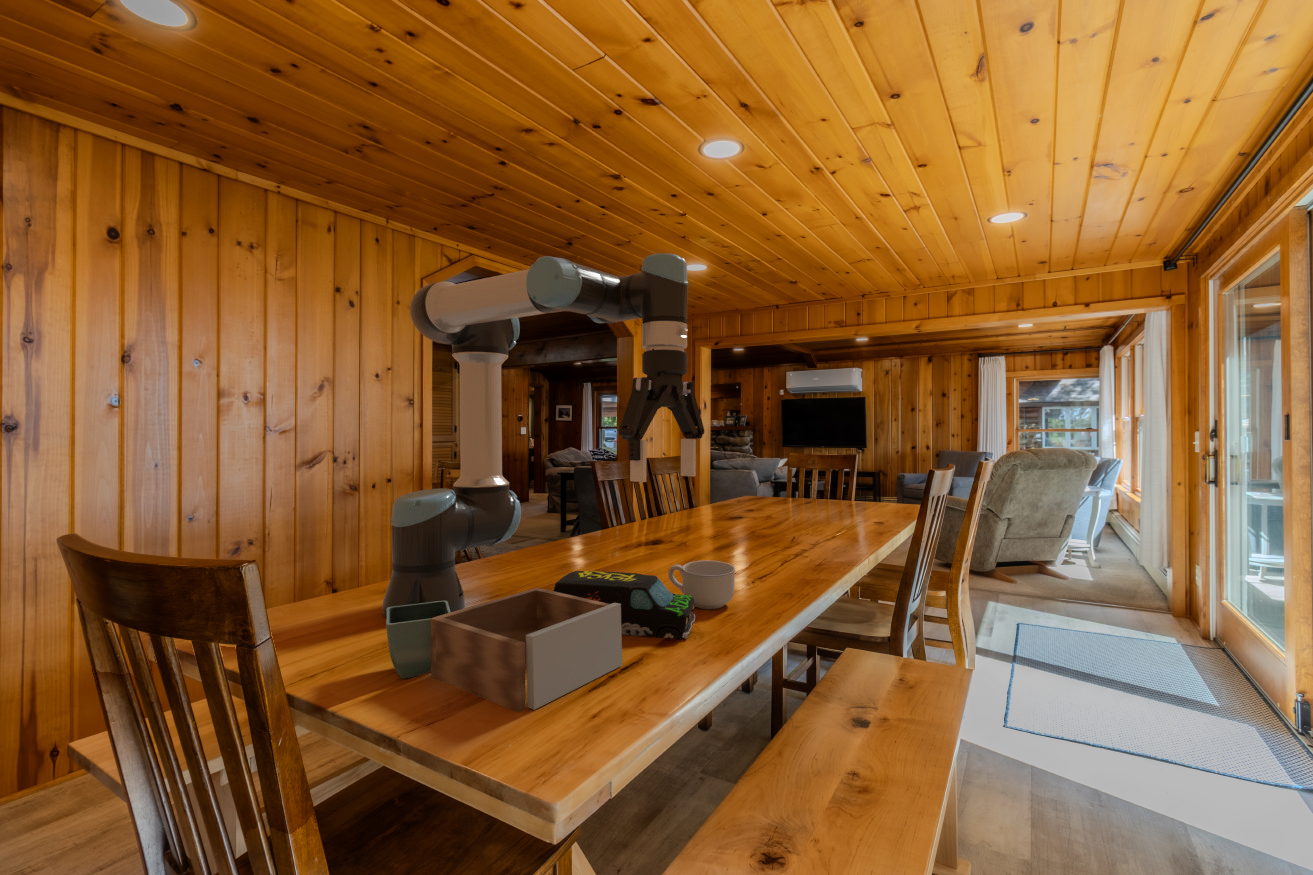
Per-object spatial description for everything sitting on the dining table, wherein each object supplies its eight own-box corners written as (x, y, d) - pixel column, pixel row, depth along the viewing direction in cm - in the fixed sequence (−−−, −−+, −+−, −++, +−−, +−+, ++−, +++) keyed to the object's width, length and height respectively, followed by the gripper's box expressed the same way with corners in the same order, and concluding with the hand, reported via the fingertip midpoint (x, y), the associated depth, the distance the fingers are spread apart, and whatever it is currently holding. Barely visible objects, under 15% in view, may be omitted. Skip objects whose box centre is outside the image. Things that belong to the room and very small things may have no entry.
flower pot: (386, 687, 84) (385, 623, 84) (386, 664, 92) (386, 606, 92) (452, 677, 88) (452, 615, 88) (447, 656, 96) (447, 599, 96)
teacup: (743, 602, 125) (743, 564, 125) (720, 616, 116) (720, 574, 116) (685, 592, 133) (685, 556, 133) (658, 604, 124) (658, 565, 124)
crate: (430, 685, 85) (430, 618, 85) (537, 644, 101) (537, 587, 101) (518, 722, 74) (517, 645, 74) (620, 669, 91) (621, 606, 91)
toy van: (688, 649, 99) (688, 589, 99) (546, 638, 104) (546, 581, 104) (697, 628, 110) (697, 573, 110) (567, 619, 115) (567, 566, 115)
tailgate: (527, 707, 75) (525, 635, 76) (615, 663, 89) (614, 602, 89) (534, 709, 75) (532, 636, 75) (622, 665, 89) (620, 603, 89)
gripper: (633, 340, 88) (632, 485, 89) (724, 356, 108) (723, 475, 108) (596, 344, 93) (595, 482, 94) (689, 358, 113) (689, 472, 113)
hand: (664, 478), depth 101 cm, fingers open, 13 cm apart
